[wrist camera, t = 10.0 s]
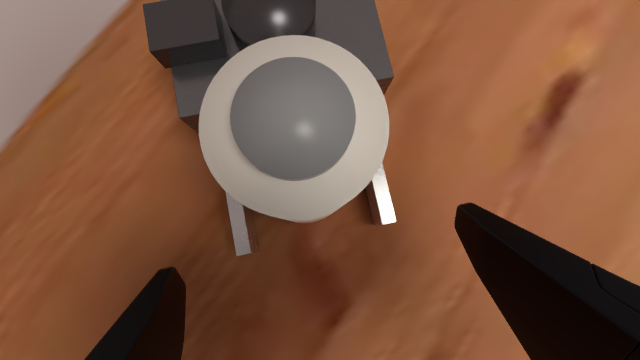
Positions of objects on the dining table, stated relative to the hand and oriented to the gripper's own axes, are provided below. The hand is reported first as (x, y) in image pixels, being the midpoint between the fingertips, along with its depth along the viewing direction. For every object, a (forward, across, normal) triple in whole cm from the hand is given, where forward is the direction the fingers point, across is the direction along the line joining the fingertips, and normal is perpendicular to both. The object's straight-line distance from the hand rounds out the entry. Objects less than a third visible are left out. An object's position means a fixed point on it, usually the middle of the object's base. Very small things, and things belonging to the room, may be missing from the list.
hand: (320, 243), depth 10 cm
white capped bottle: (+10, 0, +5) cm, 11 cm away
